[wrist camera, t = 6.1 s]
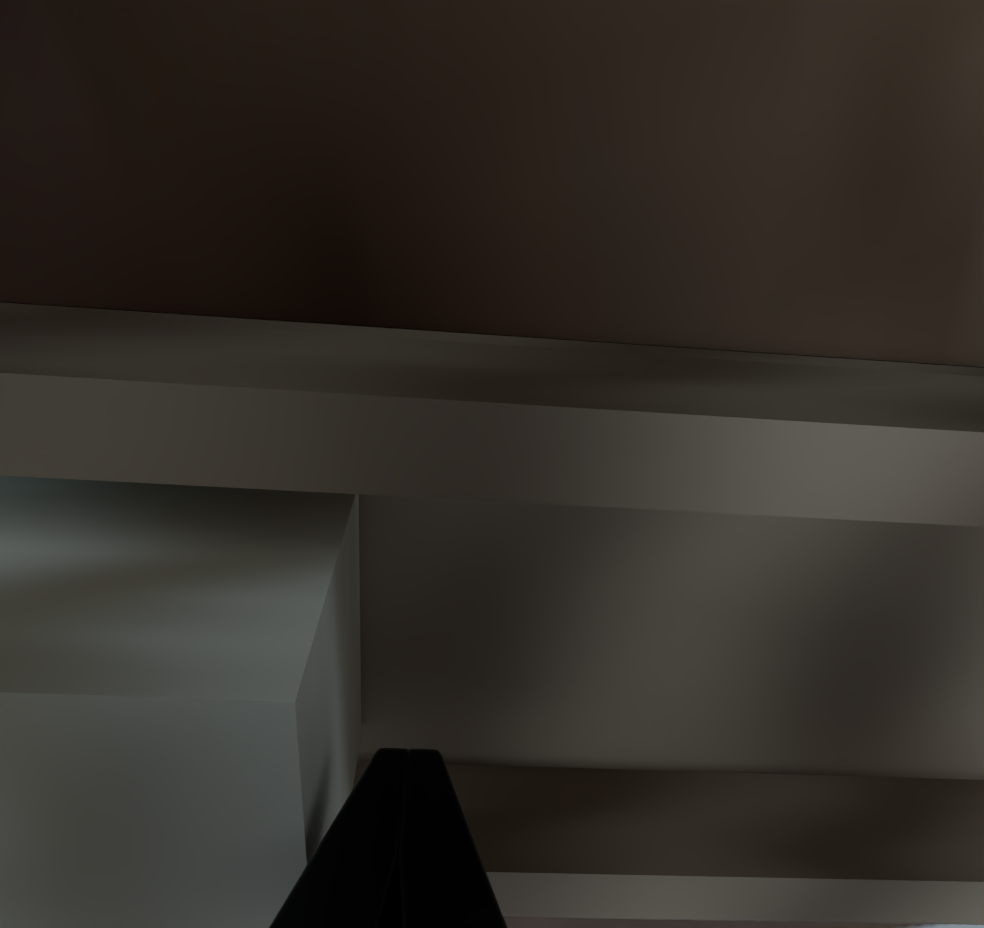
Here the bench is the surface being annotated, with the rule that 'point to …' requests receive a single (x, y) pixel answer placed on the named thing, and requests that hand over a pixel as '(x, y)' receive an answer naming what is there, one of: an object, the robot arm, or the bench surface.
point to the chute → (605, 587)
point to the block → (171, 698)
